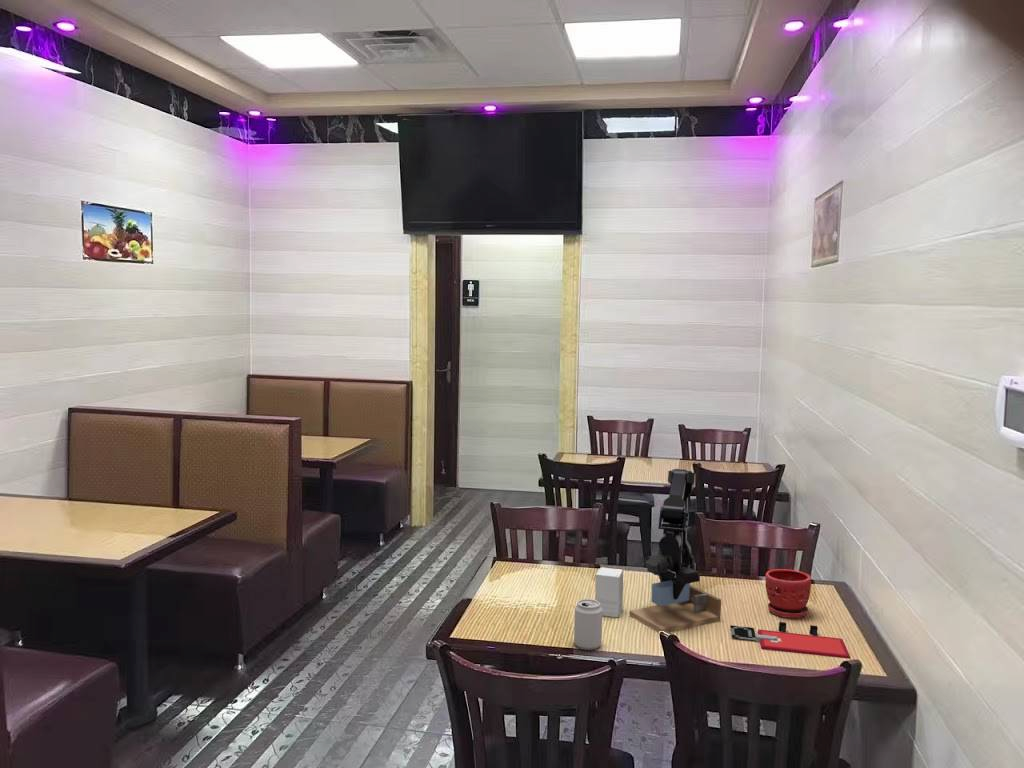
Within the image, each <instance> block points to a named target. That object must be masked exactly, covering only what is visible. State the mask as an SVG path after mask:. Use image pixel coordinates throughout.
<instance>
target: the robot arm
mask: <svg viewBox="0 0 1024 768" xmlns="http://www.w3.org/2000/svg"><path fill="white" fill-rule="evenodd" d="M667 472H668V473H667V475H668V476H667V483H668V484H670V485H669V490H670V491H669V494H668V495H669V496H668V497H667V498H666V499H664V500H663V504H662V506H660V510H659V517H658V518H659V519H658V526H657V527H658V530H663V531H662V535H661V538H660V540H659V543H658V547H659V549H658V553H657V554H656V555H655V554H654V555H651V556H649V555H648V556H647V557H645V559H644V566H645V567H646V569H647V572H649V573H651V574H653V575H655V576H657V577H658V578H659V580H660V582H664V581H669V580H671V581H672V582H673V597H674V599H675V600H676V599H678V597H679V595H680V593H681V591H682V590H683V588H684V586H685V585H686V584H688V583H690V584H692V583H698V582H700V580H701V578H700V577H701V574H700V573H699V572H698V571H697V570H695V566H696V563H695V562H696V561H695V559H696V558H695V557H694V554H693V553H692V547H691V544H690V543H689V541H688V537H687V535H688V533H687V532H688V531H687V530H688V526H689V517H690V512H689V511H688V505H689V503H688V502H689V496H690V495H691V494H692V491H693V489H694V486H695V485H696V479H697V477H696V473H695V472H693V471H692V470H687V469H685V468H684V469H682V468H674V469H672V470H668V471H667Z"/></svg>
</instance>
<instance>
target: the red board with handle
mask: <svg viewBox="0 0 1024 768" xmlns="http://www.w3.org/2000/svg"><path fill="white" fill-rule="evenodd" d="M818 629H819V627H818V625H812V624H810V625H809V634H802V633H793V632H787V622H784V621H783V622H782V621H779V622H778V631H776V630H766V629H757V633H756V631H755V628H754V627H748V626H739V625H731V624H730V633H731V638H734V639H744V640H753V641H756V643H759V645H760V648H761V649H760V650H764V651H775V652H783V653H792V654H793V653H794V654H802V655H813V656H822V657H832V658H840V659H842V658H843V659H849V660H850V659H851V655H850V653H849V650H848V648H847V646H846V644H845V642H844V639H843V638H841V637H839V638H838V637H831V636H830V637H829V636H821V635H818V632H819V631H818Z"/></svg>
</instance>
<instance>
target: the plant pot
mask: <svg viewBox="0 0 1024 768" xmlns="http://www.w3.org/2000/svg"><path fill="white" fill-rule="evenodd" d="M789 579H791V580H789ZM811 588H812V578H811V575H810V574H808V573H807V572H806V573H805V572H802V571H800V570H795V569H785V568H784V569H783V568H777V569H771V570H768V571H767V572H766V573H765V592H766V596H767V598H768V601H769V603H768V604H767V607H768V610H769V611H770V612H771V613H773V614H774V615H776V616H778V617H779V616H780V617H783V618H788V619H798V618H802V617H805V616H806V615H807V614H808V613H809V607H808V606H807V605H808V602H809V600H810V596H811Z"/></svg>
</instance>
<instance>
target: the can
mask: <svg viewBox="0 0 1024 768" xmlns="http://www.w3.org/2000/svg"><path fill="white" fill-rule="evenodd" d="M573 626H574V627H573V628H574V629H573V630H574V631H573V643H574V645H576V646H577V648H579V649H582V650H588V651H592V649H593V650H596V649H598V648H599V647H600V646H601V645H602V638H603V636H602V634H603V616H602V607H601V606H600V603H599V602H598V601H596V600H595V599H591V598H583V599H580V600H577V602H576V605H575V606H574V625H573Z"/></svg>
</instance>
